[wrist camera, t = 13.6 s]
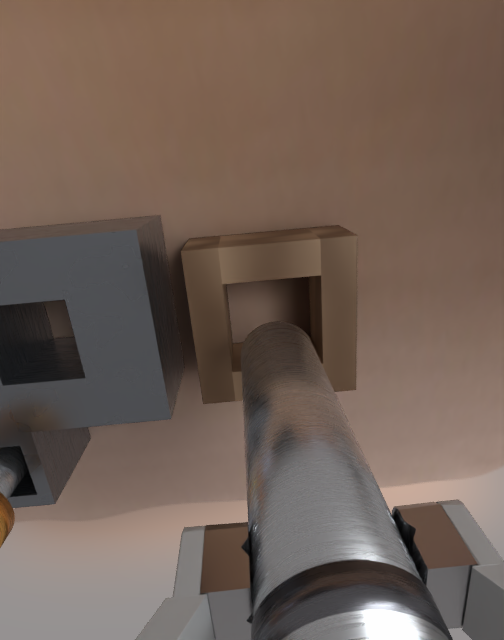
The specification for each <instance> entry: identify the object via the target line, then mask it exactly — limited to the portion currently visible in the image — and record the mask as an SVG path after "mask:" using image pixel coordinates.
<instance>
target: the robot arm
mask: <svg viewBox="0 0 504 640" xmlns="http://www.w3.org/2000/svg"><path fill="white" fill-rule="evenodd" d="M392 517H393V519H394V521H395V523H396V525H397V528H398V530H399V532H400V534H401V536H402V538H403V541H404V543H405V545H406V547H407V549H408V551H409V553H410V556H411V558H412V560H413V562H414V564H415V566H416V569H417V571H418V573H419V575H420V577H421V579H422V581H423V583H424V584H425V586H426V587H427V588H428V590H429V591H430V593H431V594H432V596H433V599H434V601H435V603H436V605H437V607H438V609H439V611H440V613H441V616H442V618H443V620H444V622H445V624H446V626H447V628H448V629H450V628H463V629H462V630H463V631H464V632H465V633H466V634H467V635H468V636H469V637H470V638H471V639H472V640H504V561H503V559H502V558H501V556H500V555H499V554H498V552H497V551H496V549H495V548H494V546H493V545H492V544H491V542H490V541H489V539H488V538H487V537H486V535H485V534H484V532H483V531H482V530H481V528H480V527H479V525H478V524H477V522H476V521H475V520H474V518H473V517H472V515H471V514H470V512H469V511H468V510H467V508H466V507H465V505H464V504H463V503H462V502H461V501H459V500H450V501H440V502H429V503H421V504H412V505H404V506H395V507H394V508H393V510H392ZM250 561H251V552H250V533H249V526H248V522H245V523H232V524H218V525H206V526H196V527H185V528H184V530H183V532H182V536H181V543H180V550H179V557H178V564H177V571H176V578H175V586H174V592H173V598H166V599H165V600H164V602H163V603H162V605H161V606H160V607H159V609H158V610H157V611H156V613H155V614H154V615H153V617H152V618H151V619H150V621H149V622H148V623H147V625H146V626H145V627H144V629H143V630H142V632H141V633H140V634H139V636H138V637H137V638H136V640H251V625H252V620H253V595H252V576H251V567H250Z"/></svg>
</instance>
